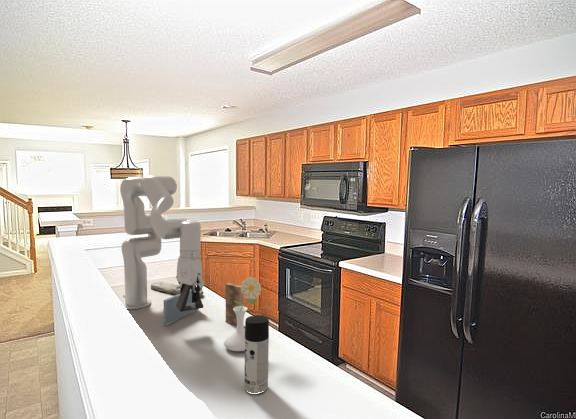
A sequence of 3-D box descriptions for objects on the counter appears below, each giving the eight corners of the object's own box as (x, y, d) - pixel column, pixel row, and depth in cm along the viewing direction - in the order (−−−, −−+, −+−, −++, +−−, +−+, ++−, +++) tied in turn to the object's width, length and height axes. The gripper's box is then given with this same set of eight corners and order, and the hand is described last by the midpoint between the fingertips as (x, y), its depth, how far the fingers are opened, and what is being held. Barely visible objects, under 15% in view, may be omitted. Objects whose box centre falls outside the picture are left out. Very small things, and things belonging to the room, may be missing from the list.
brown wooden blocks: (183, 307, 158) (183, 273, 157) (187, 306, 160) (187, 272, 159) (239, 326, 138) (239, 287, 137) (243, 324, 140) (243, 286, 139)
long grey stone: (160, 287, 194) (146, 293, 185) (159, 278, 193) (145, 283, 184) (208, 293, 177) (195, 300, 169) (208, 283, 177) (194, 290, 168)
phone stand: (179, 311, 127) (180, 280, 126) (175, 306, 133) (176, 276, 131) (203, 307, 132) (203, 277, 131) (198, 302, 137) (199, 273, 136)
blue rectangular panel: (196, 308, 156) (196, 287, 155) (199, 309, 155) (199, 287, 154) (163, 324, 138) (163, 300, 137) (167, 325, 137) (166, 300, 137)
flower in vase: (225, 356, 114) (225, 283, 112) (222, 341, 125) (222, 274, 123) (263, 352, 118) (264, 280, 116) (257, 337, 129) (258, 272, 127)
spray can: (244, 381, 100) (245, 314, 98) (268, 381, 100) (268, 314, 99) (243, 395, 93) (243, 324, 92) (268, 395, 94) (269, 323, 92)
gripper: (167, 251, 132) (167, 297, 134) (197, 259, 122) (197, 307, 124) (183, 248, 138) (183, 292, 140) (213, 255, 129) (212, 302, 130)
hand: (189, 299), depth 132 cm, fingers closed on phone stand, 6 cm apart
